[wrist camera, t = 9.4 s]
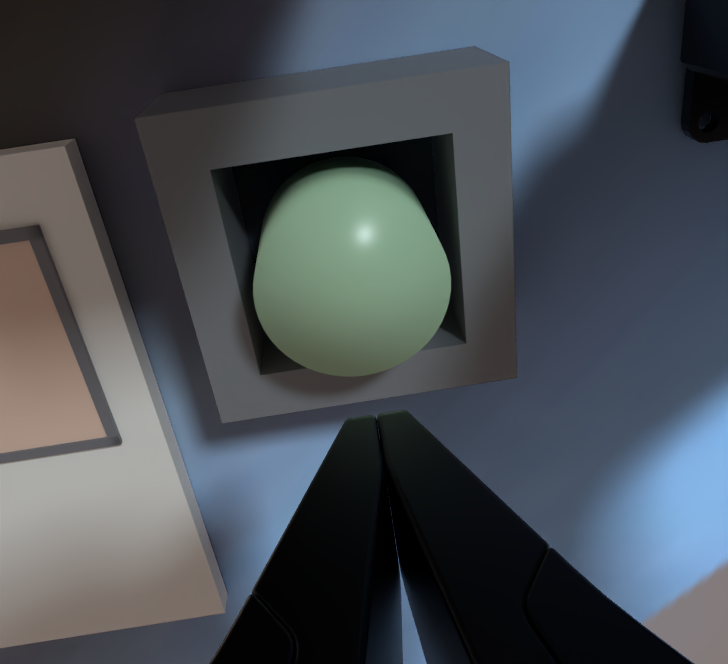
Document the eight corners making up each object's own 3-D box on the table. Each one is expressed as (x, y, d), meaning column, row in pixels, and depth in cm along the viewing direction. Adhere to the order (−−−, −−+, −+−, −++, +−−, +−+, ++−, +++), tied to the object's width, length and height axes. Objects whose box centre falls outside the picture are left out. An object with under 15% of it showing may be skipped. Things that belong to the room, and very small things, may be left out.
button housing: (474, 46, 16) (509, 61, 13) (487, 322, 19) (516, 377, 17) (162, 93, 16) (134, 118, 13) (233, 361, 19) (221, 423, 17)
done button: (419, 144, 15) (443, 181, 13) (433, 301, 17) (457, 361, 15) (245, 170, 15) (233, 213, 13) (278, 324, 17) (274, 389, 14)
